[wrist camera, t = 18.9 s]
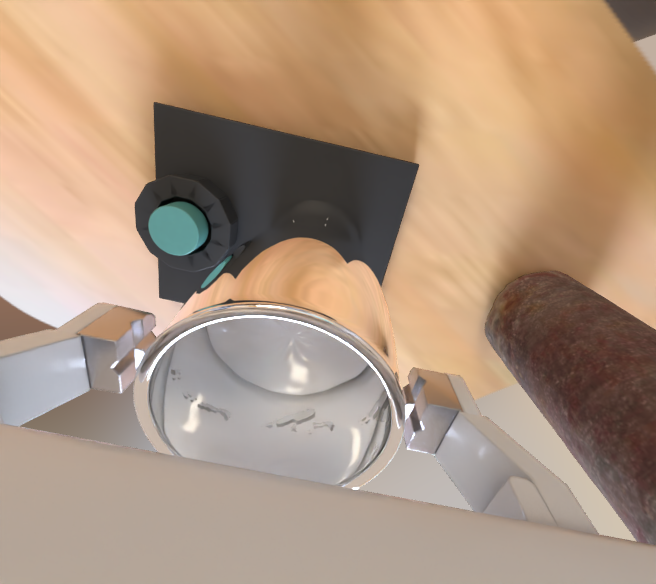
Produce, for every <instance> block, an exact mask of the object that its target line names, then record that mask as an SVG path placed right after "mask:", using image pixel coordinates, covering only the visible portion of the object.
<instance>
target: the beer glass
mask: <svg viewBox="0 0 656 584" xmlns="http://www.w3.org/2000/svg"><path fill="white" fill-rule="evenodd" d="M360 250H361V240H360V234H359V231H358V228H357V226H356V224H355V222H354V220H353V219H352V218H351V216H350V215H349V214H348V213H347V212H346V211H345V210H343V209H342V208H341V207H339V206H338V205H336V204H334V203H331V202H328V201H324V200H316V199H314V200H305V201H301V202H298V203H296V204H294V205H292V206H290V207H289V208H288V209H286V210H285V211H284V212H283V213H282V214H281V215H280V216H279V218H278V219H277V221H276V222H275V224H274V226H273V229H270V230H268V231H265V232H263V233H261V234H259V235H257V236H255V237H253V238H251V239H250V240H248V241H246V242H245V243H243V244H242V245H240V246H239V247H238V248H236V249H235V250H234V251H233V252H232V253H231V254H229V255H228V256H227V257H226V258H225V259H223V260H222V261H221V262H220V263H219V264H218V265H217V266H216V267H215V268H214V269H213V270H212V271H211V273H210V274H209V275H208V276H207V277H206V278H205V279H204V280H203V281H202V282H201V283H200V285H199V286H198V287H197V288H196V290H195V291H194V292H193V293H192V295H191V296H190V297H189V298H188V300H187V301H186V302H185V304H184V305H183V306H182V307H181V309H180V310H179V311H178V313H177V314H176V316H175V317H174V318H173V320H172V321H171V322H170V324H169V325H168V326H167V328H166V329H165V330H164V331H163V332H162V333H161V334H160V335H159V336H158V337H157V338H156V339H155V340H154V341H153V342H152V343H151V345H150V346H149V347H148V349H147V350H146V352H145V353H144V355H143V357H142V359H141V361H140V363H139V365H138V368H137V371H136V375H135V380H134V389H133V390H134V392H133V394H134V405H135V410H136V414H137V417H138V420H139V423H140V425H141V427H142V429H143V431H144V433H145V435H146V437H147V438H148V440H149V441H150V442H151V444H152V445H153V447H154V448H155V449H156V450H157V451H158V453H164V454H169V455H174V456H180V457H185V458H190V459H196V460H201V461H207V462H212V463H217V464H223V465H228V466H233V467H239V468H244V469H249V470H255V471H260V472H266V473H271V474H276V475H282V476H287V477H292V478H298V479H303V480H309V481H314V482H319V483H325V484H330V485H335V486H341V487H346V488H351V489H358V488H360V487H362V486H364V485H365V484H367V483H368V482H369V481H371V480H372V479H374V478H375V477H376V476H377V475H378V474H379V473H380V472H381V471H383V470H384V468H385V467H386V466H387V465H388V463H390V461H391V460H392V458H393V457H394V455H395V454H396V452H397V450H398V448H399V446H400V443H401V441H402V438H403V434H404V430H405V423H406V409H405V401H404V397H403V393H402V390H401V386H400V379H399V370H398V361H397V354H396V347H395V340H394V333H393V329H392V324H391V319H390V315H389V310H388V307H387V303H386V300H385V298H384V295H383V292H382V289H381V287H380V284H379V282H378V279H377V277H376V275H375V274H374V272H373V270H372V269H371V267H370V266H369V264H368V262H367V261H366V259H365V258H364V257H363V255H362V254H361V253H360Z"/></svg>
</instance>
